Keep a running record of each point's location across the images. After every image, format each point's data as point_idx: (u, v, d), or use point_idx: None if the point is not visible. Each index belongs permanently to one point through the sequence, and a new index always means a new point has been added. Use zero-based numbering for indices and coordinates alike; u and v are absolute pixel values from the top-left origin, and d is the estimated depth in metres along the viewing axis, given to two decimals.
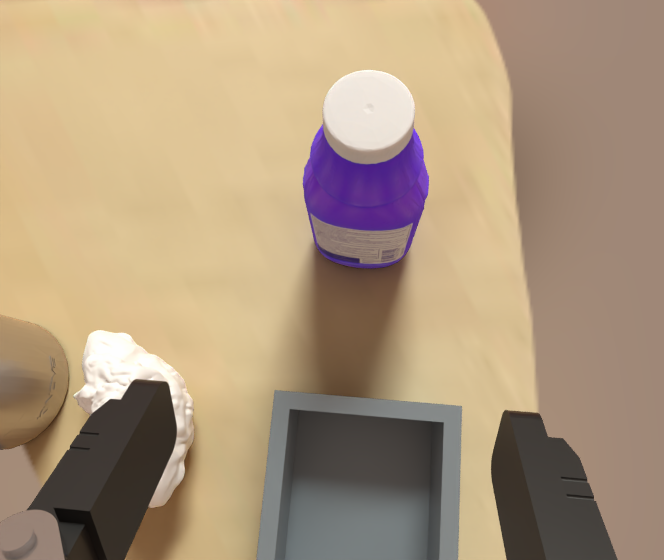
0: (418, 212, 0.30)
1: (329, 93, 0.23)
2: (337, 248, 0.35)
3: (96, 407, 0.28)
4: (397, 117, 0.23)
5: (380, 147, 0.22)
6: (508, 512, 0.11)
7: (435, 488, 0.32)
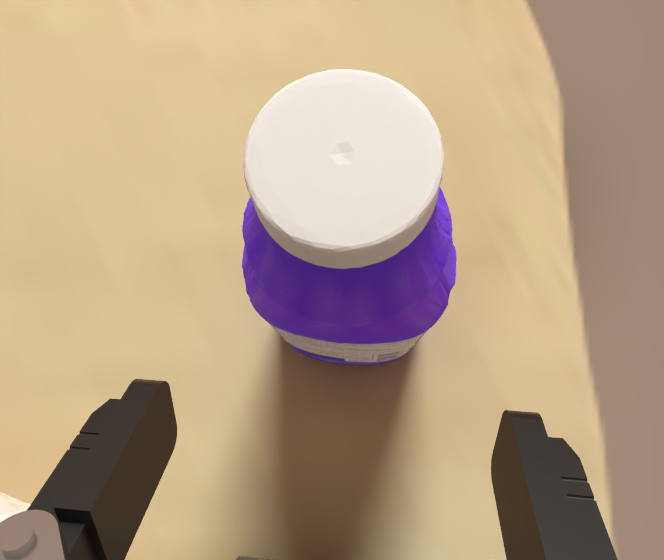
0: (439, 315, 0.17)
1: (258, 120, 0.11)
2: (308, 348, 0.22)
3: None
4: (405, 173, 0.10)
5: (367, 242, 0.10)
6: (508, 512, 0.11)
7: None
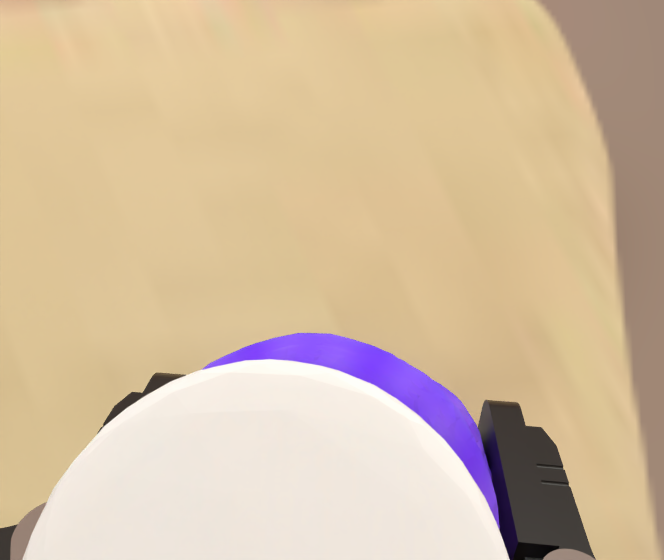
0: None
1: (54, 506, 0.04)
2: None
3: None
4: None
5: None
6: None
7: None
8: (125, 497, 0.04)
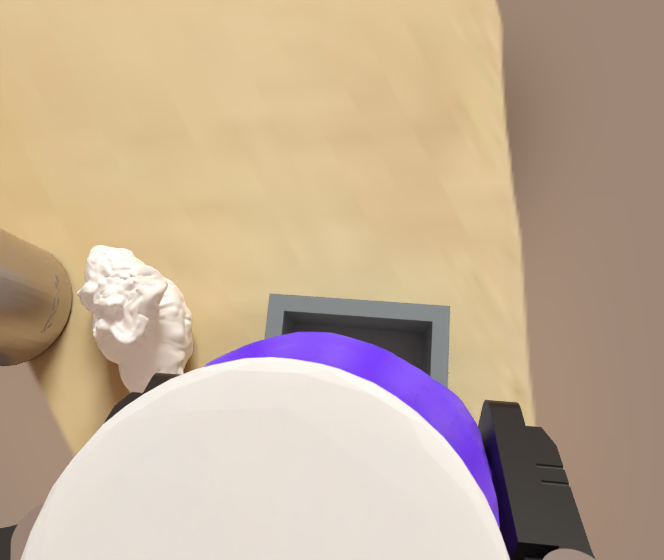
0: None
1: (53, 504, 0.04)
2: None
3: (98, 299, 0.29)
4: None
5: None
6: None
7: None
8: (124, 494, 0.04)
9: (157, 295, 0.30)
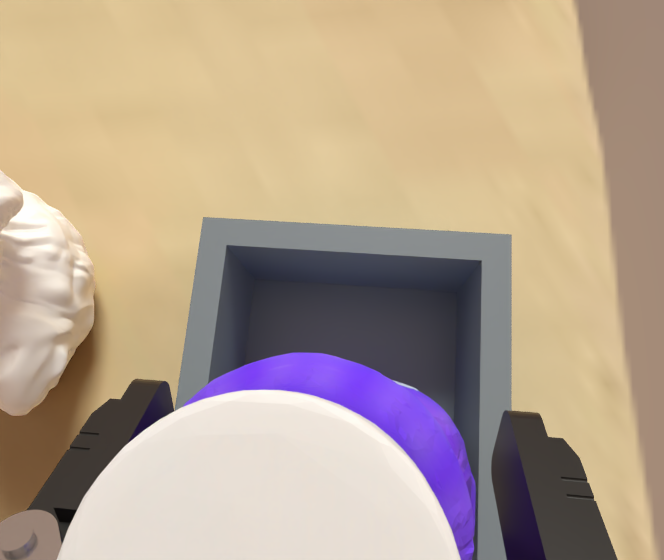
0: None
1: (84, 512, 0.05)
2: None
3: None
4: None
5: None
6: (508, 512, 0.11)
7: (466, 379, 0.20)
8: (143, 505, 0.05)
9: None
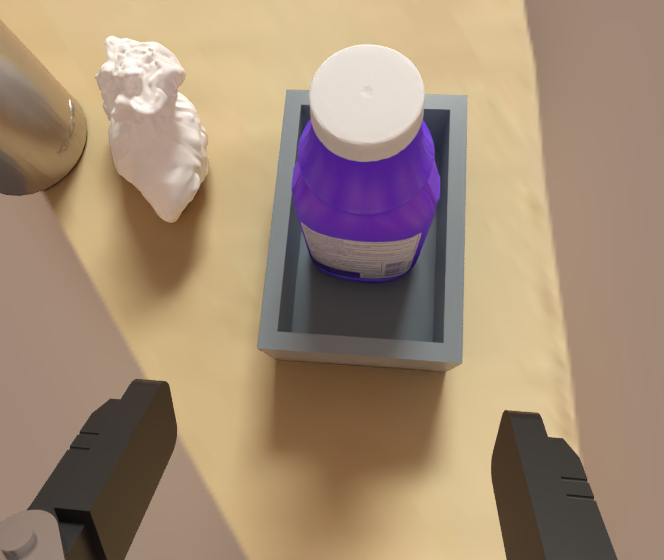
0: (428, 220, 0.25)
1: (317, 73, 0.19)
2: (333, 261, 0.30)
3: (117, 70, 0.29)
4: (402, 103, 0.18)
5: (381, 140, 0.18)
6: (508, 512, 0.11)
7: (442, 187, 0.33)
8: (334, 70, 0.18)
9: (175, 73, 0.30)
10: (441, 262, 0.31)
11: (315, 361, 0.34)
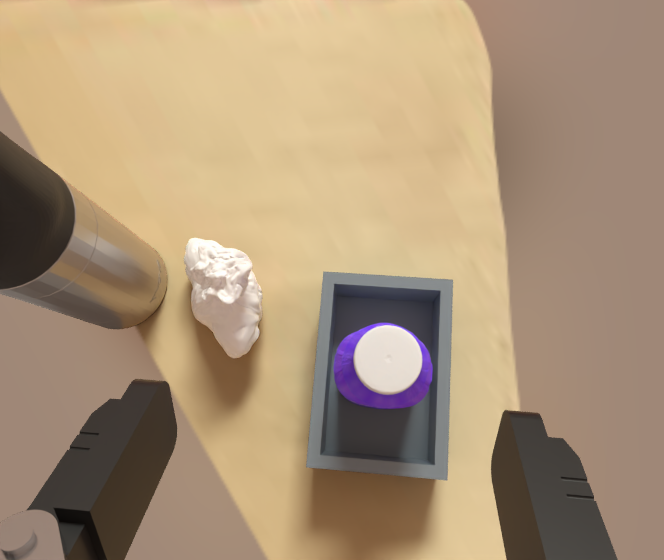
0: (424, 396, 0.38)
1: (359, 344, 0.31)
2: None
3: (209, 273, 0.42)
4: (409, 366, 0.31)
5: (396, 390, 0.31)
6: (508, 512, 0.11)
7: (435, 340, 0.46)
8: (369, 343, 0.31)
9: (248, 271, 0.43)
10: (433, 400, 0.44)
11: None
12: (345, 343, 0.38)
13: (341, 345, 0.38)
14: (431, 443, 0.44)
